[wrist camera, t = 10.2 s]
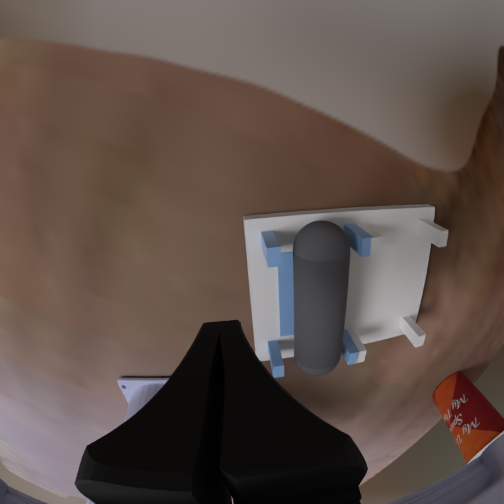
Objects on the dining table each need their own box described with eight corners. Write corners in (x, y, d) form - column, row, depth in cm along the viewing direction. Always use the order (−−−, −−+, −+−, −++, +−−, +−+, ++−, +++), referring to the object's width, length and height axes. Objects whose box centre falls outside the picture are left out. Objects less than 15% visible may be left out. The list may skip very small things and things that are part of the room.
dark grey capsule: (328, 350, 23) (345, 378, 20) (288, 359, 23) (301, 389, 20) (335, 211, 19) (362, 226, 16) (284, 217, 18) (303, 234, 15)
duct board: (408, 326, 25) (428, 350, 21) (255, 353, 24) (260, 387, 20) (428, 203, 20) (459, 217, 17) (243, 215, 20) (247, 234, 16)
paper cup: (433, 379, 29) (485, 456, 16) (473, 358, 29) (526, 422, 16) (421, 412, 32) (460, 481, 19) (459, 392, 32) (501, 453, 19)
